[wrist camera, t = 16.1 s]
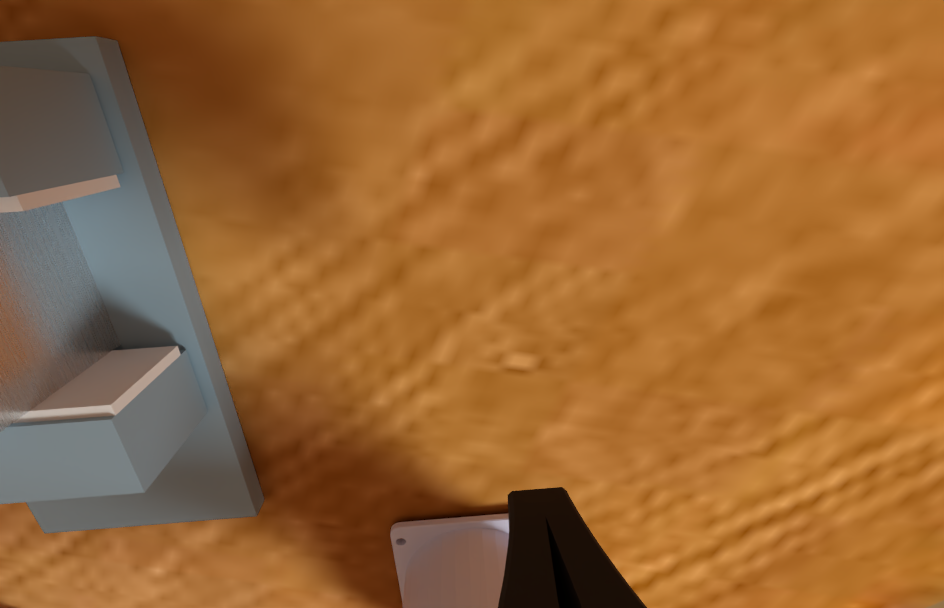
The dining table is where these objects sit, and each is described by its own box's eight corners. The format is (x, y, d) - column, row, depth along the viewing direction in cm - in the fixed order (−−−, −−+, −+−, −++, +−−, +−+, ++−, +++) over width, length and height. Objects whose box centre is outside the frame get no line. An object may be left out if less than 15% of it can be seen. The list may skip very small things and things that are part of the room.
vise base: (264, 499, 23) (212, 611, 18) (60, 516, 23) (-50, 633, 18) (117, 40, 15) (-53, 7, 10) (-200, 59, 15) (-539, 35, 10)
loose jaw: (207, 411, 19) (144, 492, 15) (-10, 428, 19) (-131, 514, 15) (182, 340, 18) (106, 408, 14) (-51, 357, 18) (-198, 432, 14)
